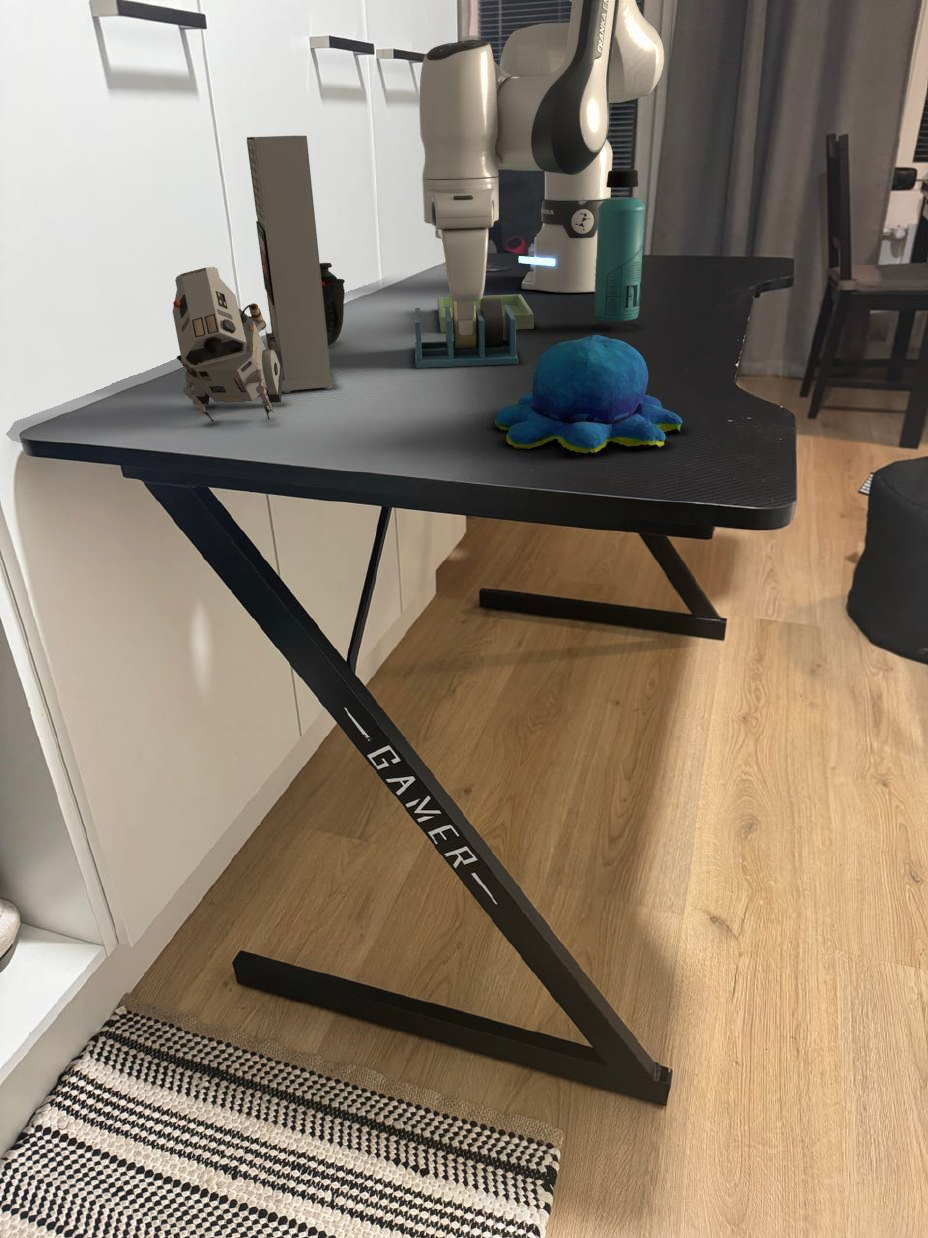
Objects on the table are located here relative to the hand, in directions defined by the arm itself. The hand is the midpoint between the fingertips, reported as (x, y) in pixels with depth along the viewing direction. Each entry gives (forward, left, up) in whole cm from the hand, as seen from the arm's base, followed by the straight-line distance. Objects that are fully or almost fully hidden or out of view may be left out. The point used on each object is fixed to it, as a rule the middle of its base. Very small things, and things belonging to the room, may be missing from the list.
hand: (464, 327), depth 110 cm
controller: (-9, -19, -4) cm, 21 cm away
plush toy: (+32, +10, -4) cm, 34 cm away
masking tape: (0, 0, 0) cm, 1 cm away
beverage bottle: (-14, +22, -4) cm, 26 cm away
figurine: (+19, -25, -4) cm, 32 cm away
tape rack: (0, 0, -4) cm, 4 cm away
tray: (-24, +4, -4) cm, 25 cm away
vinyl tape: (0, +3, 0) cm, 3 cm away
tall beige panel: (+8, -20, -4) cm, 22 cm away
